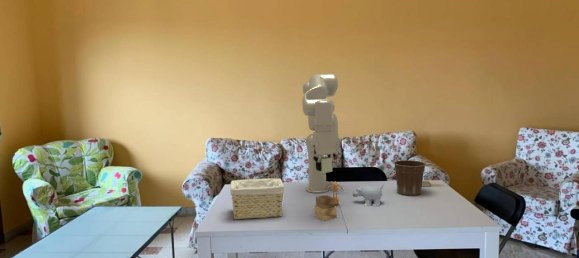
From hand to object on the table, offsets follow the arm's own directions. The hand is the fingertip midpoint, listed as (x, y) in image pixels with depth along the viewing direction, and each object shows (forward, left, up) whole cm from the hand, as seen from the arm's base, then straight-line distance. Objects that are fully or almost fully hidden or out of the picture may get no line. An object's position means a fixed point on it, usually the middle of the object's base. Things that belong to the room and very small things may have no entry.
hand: (324, 169), depth 171 cm
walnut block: (0, 0, -17) cm, 17 cm away
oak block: (0, 0, -22) cm, 22 cm away
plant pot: (-58, -7, -22) cm, 62 cm away
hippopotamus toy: (-29, -5, -22) cm, 37 cm away
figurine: (-13, -11, -22) cm, 27 cm away
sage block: (0, 0, -1) cm, 1 cm away
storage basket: (+24, -20, -22) cm, 38 cm away
